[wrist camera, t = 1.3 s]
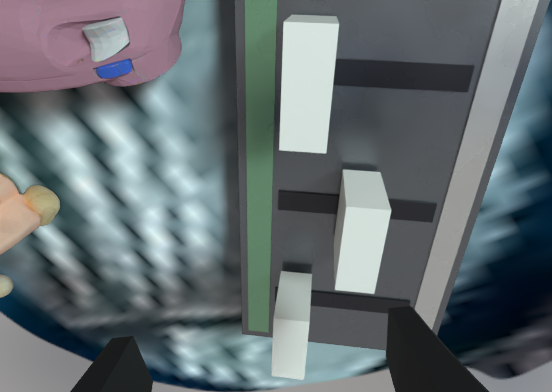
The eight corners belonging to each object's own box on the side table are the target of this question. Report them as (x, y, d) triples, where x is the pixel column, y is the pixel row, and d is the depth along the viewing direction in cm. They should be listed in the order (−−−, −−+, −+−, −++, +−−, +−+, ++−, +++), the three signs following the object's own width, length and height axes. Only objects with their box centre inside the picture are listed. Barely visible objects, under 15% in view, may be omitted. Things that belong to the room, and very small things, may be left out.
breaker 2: (312, 274, 19) (309, 322, 17) (306, 328, 21) (303, 380, 19) (281, 271, 20) (273, 318, 17) (278, 325, 22) (271, 376, 19)
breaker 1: (336, 16, 14) (339, 23, 11) (326, 123, 16) (326, 153, 13) (292, 14, 14) (283, 21, 11) (287, 121, 16) (279, 150, 13)
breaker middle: (380, 172, 16) (391, 210, 14) (367, 247, 18) (374, 294, 15) (342, 169, 16) (346, 206, 14) (333, 244, 18) (334, 290, 16)
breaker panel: (537, -25, 14) (560, -27, 13) (424, 334, 23) (430, 356, 22) (241, -34, 15) (233, -36, 13) (246, 315, 24) (242, 335, 23)
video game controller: (18, 20, 18) (-65, 123, 15) (-61, -91, 15) (-201, 7, 11) (214, 6, 17) (182, 115, 13) (183, -120, 13) (124, -20, 9)
